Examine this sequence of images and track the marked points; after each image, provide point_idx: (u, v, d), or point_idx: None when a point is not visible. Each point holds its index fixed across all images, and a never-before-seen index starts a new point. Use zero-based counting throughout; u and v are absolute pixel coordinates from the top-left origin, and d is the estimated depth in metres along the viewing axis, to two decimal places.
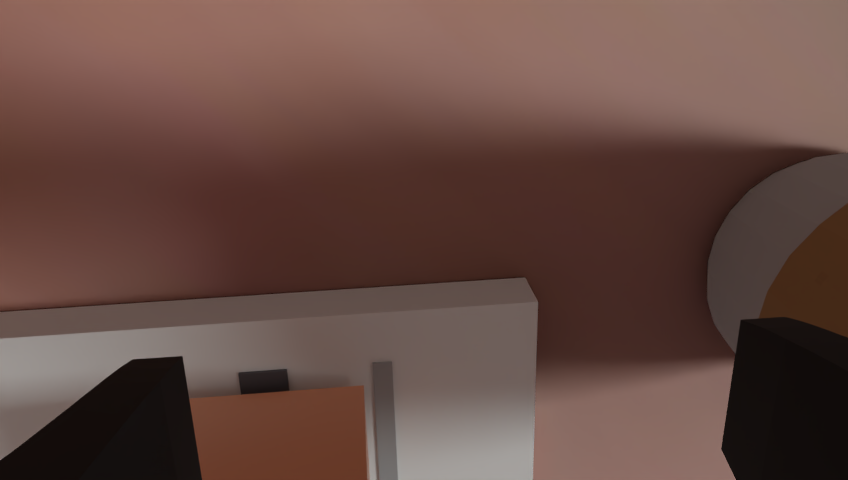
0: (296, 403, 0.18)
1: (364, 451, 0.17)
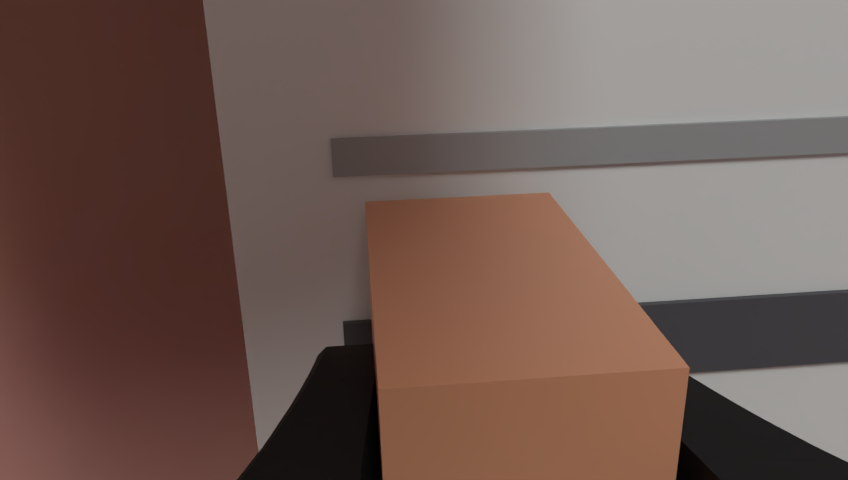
0: (373, 336, 0.10)
1: (372, 292, 0.07)
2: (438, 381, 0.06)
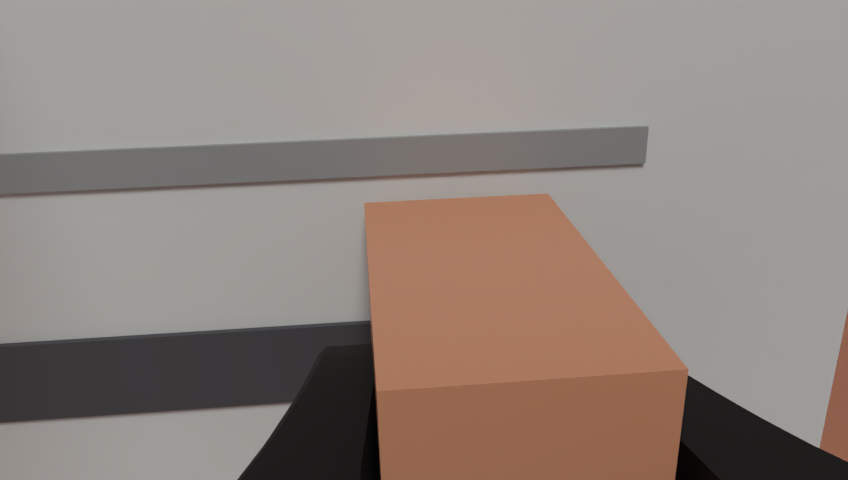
0: (371, 337, 0.10)
1: (371, 294, 0.07)
2: (435, 382, 0.06)
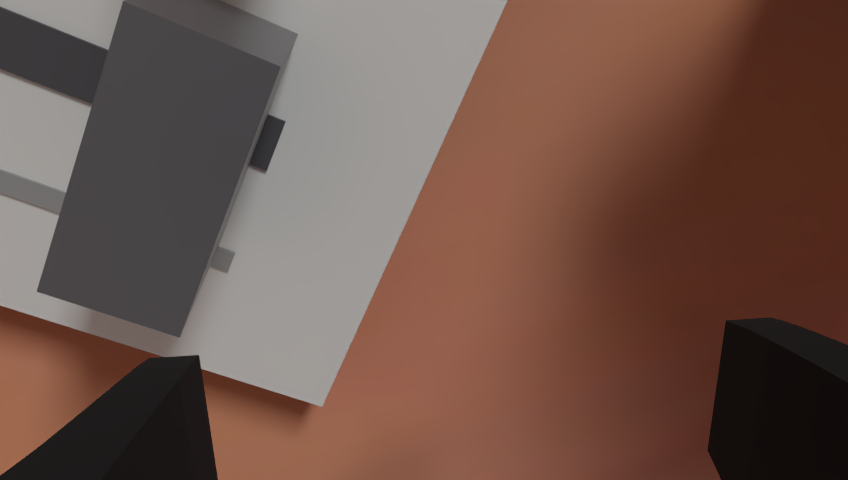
0: None
1: None
2: None
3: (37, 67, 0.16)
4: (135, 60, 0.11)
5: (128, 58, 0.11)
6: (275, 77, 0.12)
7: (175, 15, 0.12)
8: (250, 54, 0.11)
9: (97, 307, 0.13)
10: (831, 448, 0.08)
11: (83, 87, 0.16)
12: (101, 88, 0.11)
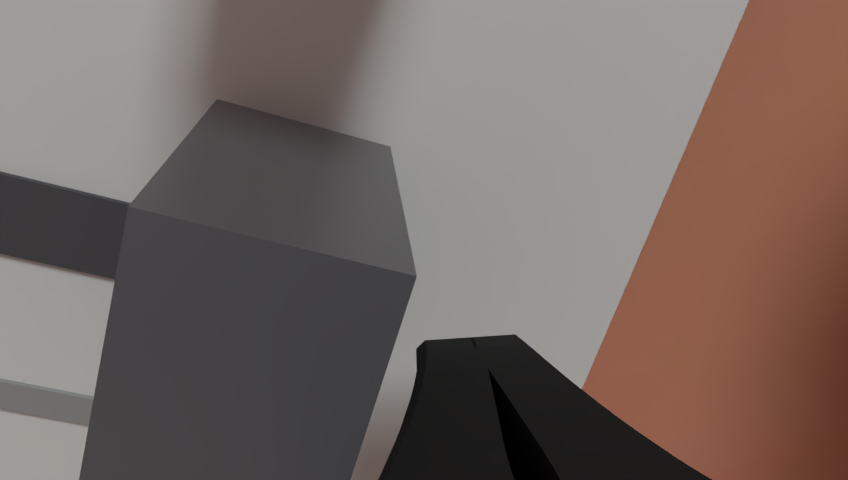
0: None
1: None
2: None
3: (60, 246, 0.11)
4: (162, 300, 0.06)
5: (149, 299, 0.06)
6: (408, 294, 0.07)
7: (221, 202, 0.07)
8: (362, 264, 0.06)
9: None
10: (511, 474, 0.08)
11: None
12: (109, 353, 0.06)
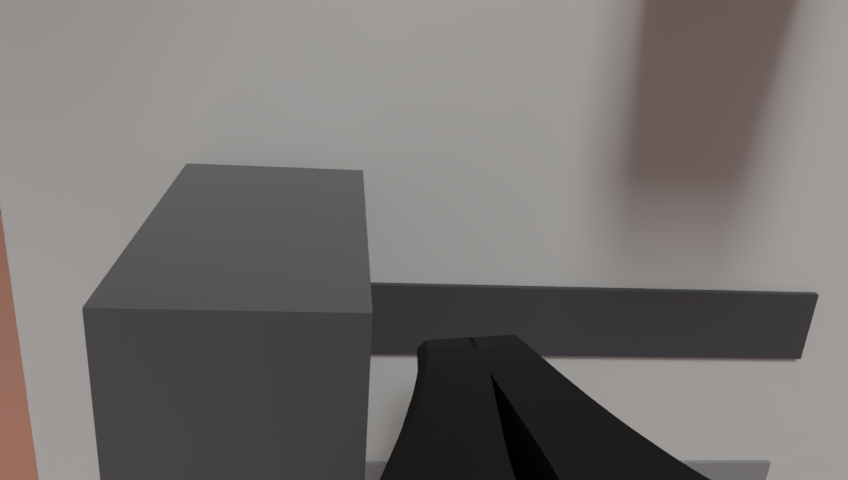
0: None
1: None
2: None
3: None
4: (138, 387, 0.07)
5: (126, 387, 0.07)
6: (369, 331, 0.07)
7: (177, 279, 0.07)
8: (316, 313, 0.06)
9: None
10: None
11: (563, 340, 0.12)
12: (103, 445, 0.07)
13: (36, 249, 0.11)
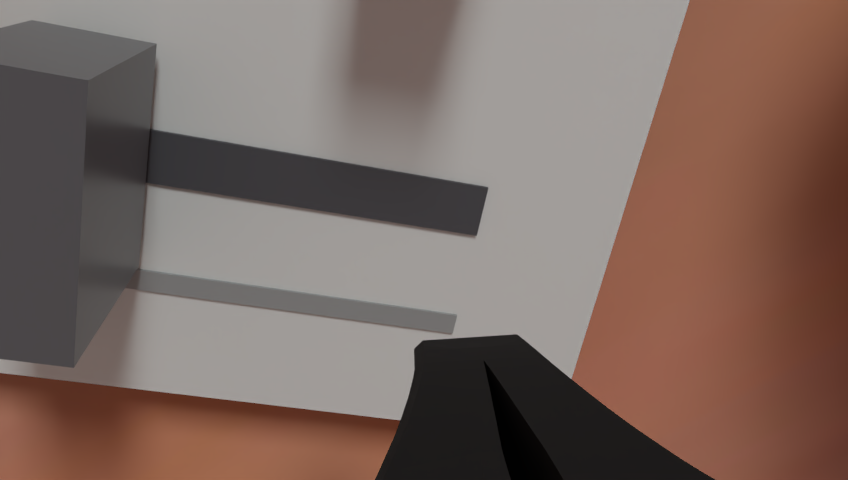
0: None
1: None
2: None
3: (262, 187, 0.17)
4: None
5: None
6: (86, 92, 0.11)
7: None
8: (54, 74, 0.11)
9: None
10: (513, 473, 0.08)
11: (303, 196, 0.17)
12: None
13: None
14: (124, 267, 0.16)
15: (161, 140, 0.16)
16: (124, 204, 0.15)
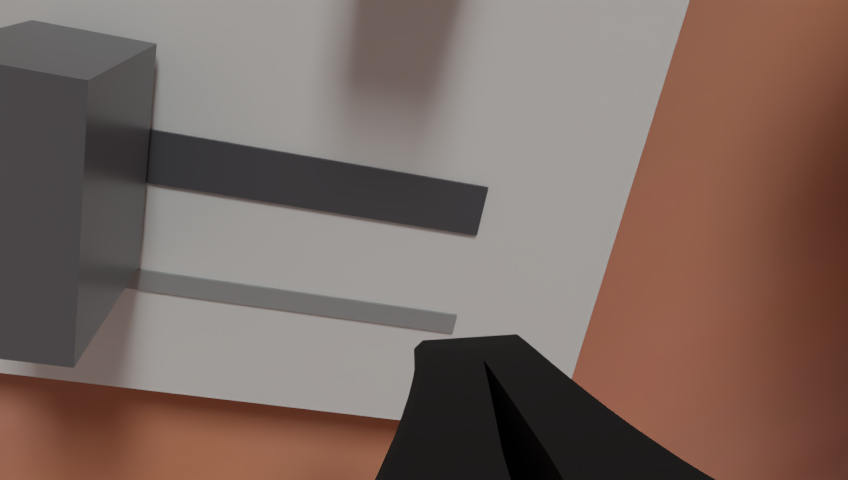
0: None
1: None
2: None
3: (262, 187, 0.17)
4: None
5: None
6: (86, 92, 0.11)
7: None
8: (54, 74, 0.11)
9: None
10: (513, 473, 0.08)
11: (303, 196, 0.17)
12: None
13: None
14: (124, 267, 0.16)
15: (161, 140, 0.16)
16: (124, 204, 0.15)
